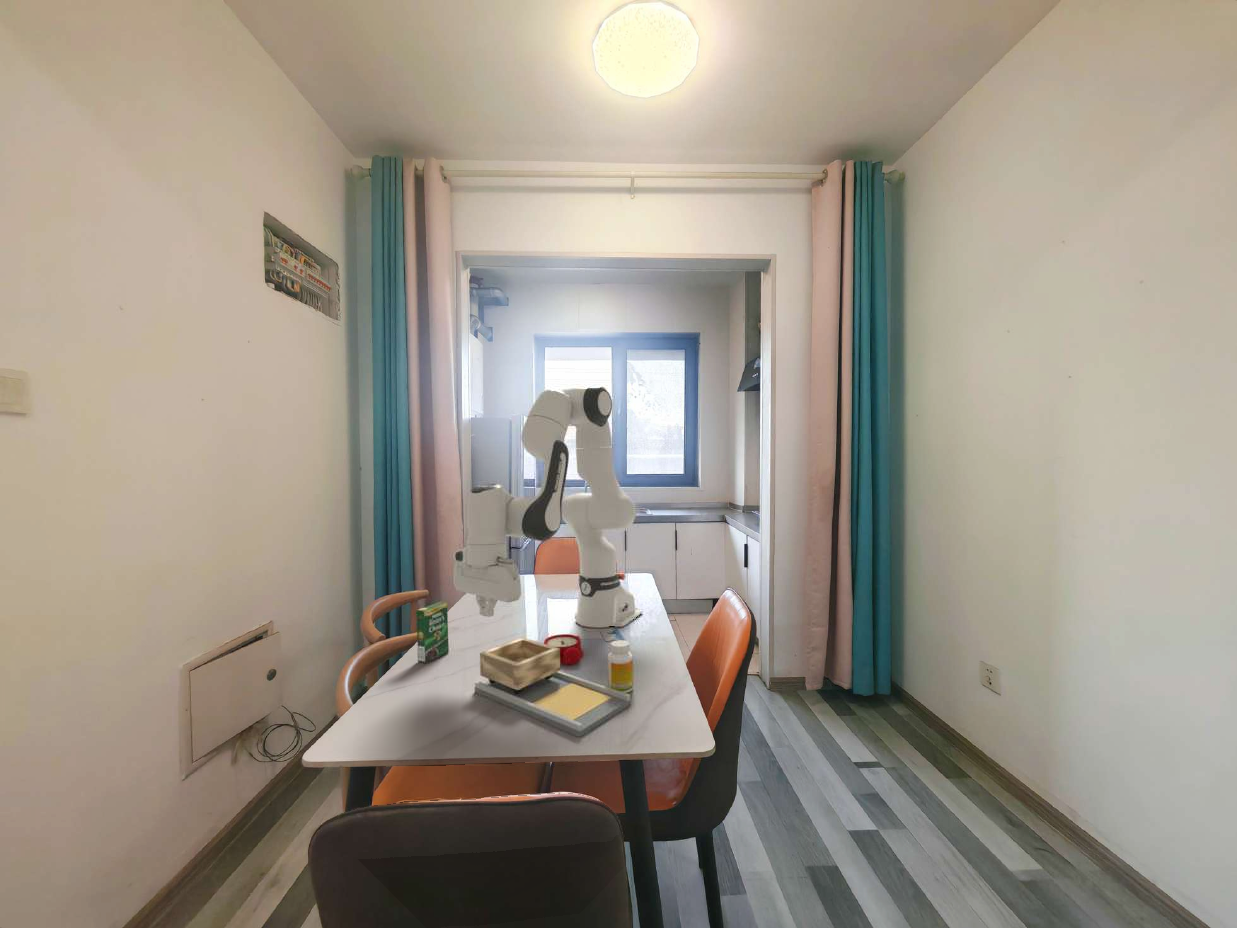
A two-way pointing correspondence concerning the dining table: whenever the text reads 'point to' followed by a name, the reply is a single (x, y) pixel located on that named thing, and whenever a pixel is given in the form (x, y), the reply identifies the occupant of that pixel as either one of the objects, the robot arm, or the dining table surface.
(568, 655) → the alarm clock
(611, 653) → the supplement bottle
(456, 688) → the dining table surface
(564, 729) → the track board
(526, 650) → the open wooden crate
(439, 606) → the coffee box
